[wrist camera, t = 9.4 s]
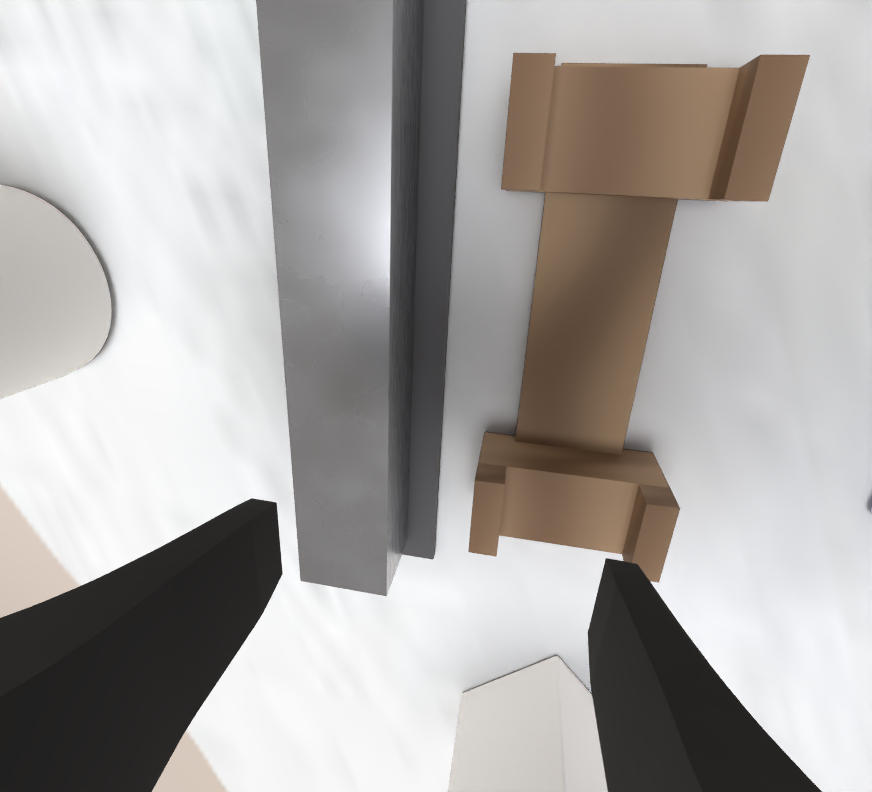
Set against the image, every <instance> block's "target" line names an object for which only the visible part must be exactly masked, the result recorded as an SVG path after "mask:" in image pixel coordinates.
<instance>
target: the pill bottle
mask: <svg viewBox="0 0 872 792" xmlns="http://www.w3.org/2000/svg"><path fill="white" fill-rule="evenodd" d="M111 313H112V310H111V298H110V292H109V287H108V283H107V280H106V277H105V274H104V271H103V269H102V266H101V264H100V262H99V260H98V258H97V256H96V254H95V252H94V251H93V249H92V247H91V246H90V244H89V243H88V241H87V240H86V238H85V237H84V236H83V234H82V233H81V232H80V231H79V230H78V228H77V227H76V226H75V225H74V224H73V223H72V222H71V221H70V220H69V219H68V218H67V217H66V216H65V215H64V214H63V213H61V212H60V211H59V210H58V209H56V208H55V207H54V206H52V205H51V204H49V203H48V202H46V201H44V200H43V199H41V198H39V197H37V196H35V195H33V194H31V193H29V192H26V191H23V190H21V189H17V188H14V187H10V186H5V185H0V399H1V398H4V397H7V396H10V395H13V394H15V393H18V392H21V391H24V390H26V389H29V388H32V387H35V386H37V385H40V384H43V383H46V382H48V381H51V380H54V379H57V378H59V377H62V376H65V375H67V374H69V373H71V372H73V371H75V370H77V369H79V368H81V367H83V366H84V365H86V364H87V363H89V362H90V361H91V360H92V359H93V358H94V357H95V356H96V355H97V354H98V353H99V351H100V350H101V348H102V347H103V345H104V343H105V341H106V339H107V336H108V333H109V329H110V324H111Z"/></svg>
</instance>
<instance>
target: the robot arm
mask: <svg viewBox="0 0 872 792" xmlns="http://www.w3.org/2000/svg"><path fill="white" fill-rule="evenodd" d="M871 514H872V508H871ZM281 575H282V563H281V551H280V539H279V527H278V515H277V503H275V502H270V501H264V500H258V499H250V500H248V501H245V502H243V503H241V504H239V505H237V506H235V507H234V508H232V509H230V510H228V511H226V512H224V513H222V514H221V515H219V516H217V517H215V518H213V519H211V520H210V521H208V522H206V523H204V524H202V525H201V526H199V527H197V528H195V529H193V530H191V531H190V532H188V533H186V534H184V535H182V536H180V537H179V538H177V539H175V540H173V541H171V542H169V543H167V544H166V545H164V546H162V547H160V548H158V549H156V550H154V551H152V552H150V553H148V554H146V555H144V556H142V557H140V558H138V559H136V560H134V561H132V562H130V563H128V564H126V565H124V566H122V567H120V568H118V569H116V570H114V571H112V572H110V573H108V574H106V575H104V576H102V577H100V578H97V579H95V580H93V581H91V582H89V583H86V584H84V585H82V586H80V587H77V588H75V589H73V590H70V591H68V592H66V593H63V594H61V595H59V596H56V597H54V598H51V599H49V600H47V601H44V602H42V603H39V604H37V605H34V606H32V607H29V608H27V609H24V610H21V611H18V612H16V613H13V614H10V615H7V616H4V617H2V618H0V792H152V790H153V788H154V786H155V784H156V783H157V781H158V779H159V777H160V775H161V774H162V772H163V770H164V768H165V766H166V765H167V763H168V761H169V759H170V757H171V756H172V754H173V752H174V750H175V748H176V746H177V745H178V743H179V741H180V739H181V737H182V736H183V734H184V733H185V731H186V729H187V728H188V726H189V724H190V723H191V721H192V720H193V718H194V716H195V715H196V713H197V712H198V710H199V709H200V707H201V706H202V704H203V703H204V701H205V700H206V698H207V697H208V695H209V694H210V692H211V691H212V689H213V688H214V686H215V685H216V683H217V682H218V680H219V679H220V677H221V676H222V674H223V673H224V671H225V670H226V668H227V667H228V665H229V664H230V662H231V661H232V659H233V658H234V657H235V655H236V654H237V652H238V651H239V649H240V648H241V646H242V645H243V643H244V641H245V640H246V638H247V637H248V635H249V634H250V632H251V631H252V629H253V628H254V626H255V625H256V623H257V622H258V620H259V619H260V617H261V615H262V613H263V612H264V610H265V608H266V606H267V604H268V602H269V600H270V598H271V596H272V594H273V592H274V590H275V588H276V586H277V584H278V582H279V580H280V578H281ZM588 646H589V667H590V684H591V691H592V697H593V704H594V710H595V716H596V722H597V729H598V735H599V741H600V747H601V753H602V759H603V765H604V771H605V777H606V784H607V790H608V792H822V791H821V790H820V789H819V788H818V787H817V786H816V785H815V784H814V783H813V782H812V781H811V780H810V779H809V778H808V777H807V776H806V775H805V774H804V773H803V772H802V770H801V769H800V768H799V767H798V766H797V765H796V764H795V763H794V762H793V761H792V760H791V759H790V758H789V756H788V755H787V754H786V753H785V752H784V751H783V750H782V749H781V748H780V747H779V746H778V745H777V744H776V742H775V741H774V740H773V739H772V738H771V737H770V736H769V735H768V734H767V733H766V732H765V730H764V729H763V728H762V727H761V726H760V725H759V724H758V722H757V721H756V720H755V719H754V718H753V717H752V716H751V714H750V713H749V712H748V711H747V710H746V709H745V707H744V706H743V705H742V704H741V702H740V701H739V700H738V699H737V698H736V696H735V695H734V694H733V693H732V692H731V690H730V689H729V688H728V687H727V686H726V684H725V683H724V682H723V681H722V679H721V678H720V677H719V675H718V674H717V673H716V672H715V670H714V669H713V668H712V667H711V665H710V664H709V663H708V661H707V660H706V659H705V657H704V656H703V655H702V653H701V652H700V651H699V649H698V648H697V647H696V645H695V644H694V643H693V641H692V640H691V639H690V637H689V636H688V635H687V633H686V632H685V631H684V629H683V628H682V627H681V625H680V624H679V622H678V621H677V620H676V618H675V617H674V615H673V614H672V612H671V611H670V610H669V608H668V607H667V605H666V604H665V603H664V601H663V600H662V598H661V597H660V595H659V594H658V592H657V591H656V590H655V588H654V587H653V585H652V584H651V582H650V581H649V579H648V578H647V576H646V575H645V574H644V572H643V571H642V569H641V568H640V567H639V565H638V564H636V563H630V562H624V561H618V560H612V559H607V558H606V560H605V564H604V569H603V573H602V577H601V581H600V585H599V589H598V593H597V597H596V601H595V606H594V610H593V614H592V618H591V622H590V626H589V630H588Z"/></svg>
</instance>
